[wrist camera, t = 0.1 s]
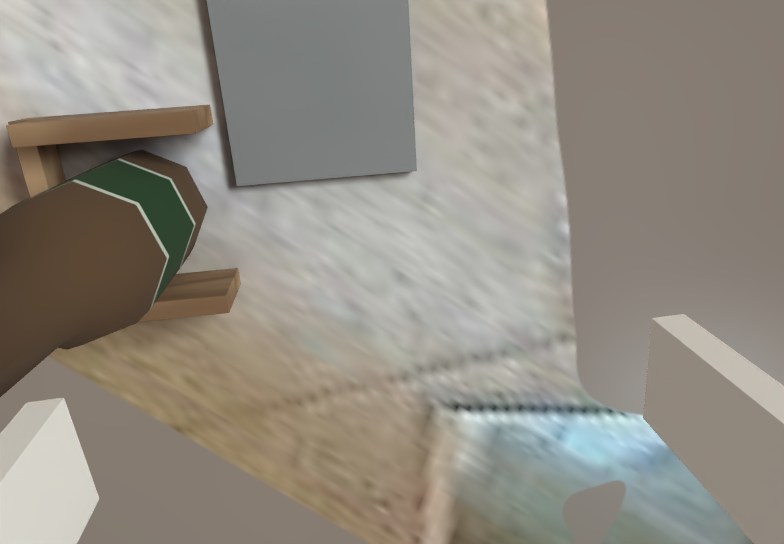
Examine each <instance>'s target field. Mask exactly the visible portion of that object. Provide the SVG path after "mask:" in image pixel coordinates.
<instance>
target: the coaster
mask: <svg viewBox="0 0 784 544" xmlns="http://www.w3.org/2000/svg"><path fill="white" fill-rule="evenodd" d="M207 6H208V12H209V19H210V25H211V31H212V37H213V43H214V49H215V55H216V61H217V68H218V74H219V80H220V86H221V92H222V98H223V104H224V110H225V117H226V123H227V129H228V135H229V141H230V147H231V153H232V159H233V165H234V172H235V178H236V184H237V186H244V185H256V184H268V183H280V182H292V181H304V180H316V179H327V178H339V177H351V176H363V175H375V174H387V173H399V172H411V171H417V168H416V148H415V127H414V107H413V87H412V67H411V47H410V26H409V6H408V0H207Z"/></svg>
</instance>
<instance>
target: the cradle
mask: <svg viewBox="0 0 784 544" xmlns="http://www.w3.org/2000/svg"><path fill="white" fill-rule="evenodd" d="M8 123H9V125H6V127H7V131H8V134H9V137H10V141H11V144H12V147H16V150H17V154H18V157H19V161H20V164H21V167H22V171H23V174H24V178H25V181H26V184H27V188H28V191H29V194H30V198H31V197H33V196H35V195H37V194H39V193H41V192H44V191H46V190H48V189H50V188H52V187H54V186H57V185H59V184H61V183H63V182H65V177H64V174H63V170H62V166H61V162H60V159H59V155H58V151H57V148H56V144H65V143H78V142H91V141H104V140H117V139H130V138H143V137H156V136H169V135H182V134H194V133H198V132H200V131H201V130H203V129H205V128H207V127H209V126H210V125H212V124H213V120H212V114H211V108H210V105H200V106H186V107H173V108H159V109H146V110H132V111H119V112H105V113H91V114H78V115H64V116H51V117H37V118H27V119H21V120H16V121H11V122H8ZM240 284H241V283H240V277H239V272H238V268H236V269H225V270H215V271H204V272H193V273H183V274H175V276H174V277H173V278H172V280H171V281H170V283H169V284H168V285H167V287H166V288H165V289H164V291H163V292H162V294H161V295H160V296H159V298H158V299H157V301H156V302H155V303H154V305H153V306H152V308H151V309H150V310H149V311H148V312H147V313H146V314H145V315H144V316H143V317H142V318H141V319H140V320H139V321H138V322H142V321H152V320H162V319H172V318H182V317H193V316H203V315H213V314H223V313H229V312H230V309H231V307H232V304H233V302H234V299H235V297H236V294H237V292H238V289H239V287H240Z"/></svg>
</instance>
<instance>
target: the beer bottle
mask: <svg viewBox="0 0 784 544" xmlns="http://www.w3.org/2000/svg"><path fill="white" fill-rule="evenodd" d="M206 210H207V205H206V203H205V201H204V200H203V198H202V196H201V194H200V192H199V190H198V188H197V186H196V184H195V182H194V181H193V179H192V177H191V175H190V173H189V171H188V169H187V167H184V166H182V165H179V164H177V163H174V162H172V161H169V160H167V159H164V158H162V157H159V156H156V155H154V154H151V153H149V152H146V151H144V150H139V151H136V152H132V153H130V154H128V155H125V156H123V157H120V158H118V159H116V160H113V161H111V162H108V163H106V164H103V165H101V166H99V167H96V168H94V169H91V170H89V171H87V172H85V173H82V174H80V175H78V176H76V177H74V178H72V179H70V180H67V181H65V182H63V183H61V184H59V185H57V186H54V187H52V188H50V189H48V190H46V191H44V192H41V193H39V194H37V195H35V196H33V197H31V198H28V199H26V200H24V201H22V202H20V203H18V204H16V205H14V206H12V207H11V208H9V209H8V210H6V211H5V212H3V213H2V214H0V397H1V396H2V395H3V394H4V393H6V392H7V391H8V390H9V389H10V388H11V387H12V386H14V385H15V384H16V383H17V382H18V381H19V380H20V379H22V378H23V377H24V376H25V375H26V374H28V373H29V372H30V371H31V370H32V369H33V368H34V367H36V365H38V364H39V363H40V362H41V361H42V360H44V359H45V358H46V357H47V356H48V355H49V354H51V353H52V352H53V351H54V350H55V349H56V348H57V347H58V348H62V349H70V348H74V347H77V346H80V345H83V344H85V343H88V342H90V341H93V340H95V339H98V338H100V337H103V336H105V335H108V334H110V333H113V332H115V331H118V330H120V329H123V328H125V327H128V326H130V325H133V324H135V323H137V322H138V321H139V320H140V319H141V318H142V317H143V316H144V315H145V314H146V313H147V312H148V311H149V310H150V309H151V308H152V306H153V305H154V303H155V302H156V301H157V299H158V298H159V296H160V295H161V294H162V292H163V291H164V289H165V288H166V287H167V285H168V284H169V283H170V281H171V280H172V278H173V277H174V276H175V274H176V273H177V271H178V270H179V269H180V267H181V266H182V264H183V263H184V262H185V260H186V259H187V257H188V256H189V255H190V253H191V251H192V249H193V247H194V245H195V242H196V239H197V236H198V233H199V230H200V228H201V225H202V222H203V219H204V216H205V213H206Z"/></svg>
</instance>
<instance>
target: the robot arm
mask: <svg viewBox="0 0 784 544" xmlns="http://www.w3.org/2000/svg"><path fill="white" fill-rule="evenodd" d="M643 418H644V420H645V421H646V422H647V423H648V424H649V425H650V426H651V427H652V429H653V430H654V431H655V432H656V433H657V434H658V435H659V437H660V438H661V439H662V440H663V441H664V442H665V443H666V444H667V446H668V447H669V448H670V449H671V450H672V451H673V452H674V454H675V455H676V456H677V457H678V458H679V459H680V460H681V461H682V463H683V464H684V465H685V466H686V467H687V468H688V469H689V470H690V472H691V473H692V474H693V475H694V476H695V477H696V478H697V480H698V481H699V482H700V483H701V484H702V485H703V486H704V487H705V489H706V490H707V491H708V492H709V493H710V494H711V495H712V497H713V498H714V499H715V500H716V501H717V502H718V503H719V504H720V506H721V507H722V508H723V509H724V510H725V511H726V512H727V514H728V515H729V516H730V517H731V518H732V519H733V520H734V521H735V523H736V524H737V525H738V526H739V527H740V528H741V529H742V531H743V532H744V533H745V534H746V535H747V536H748V537H749V538H750V540H751V541H752V542H753V543H754V544H784V386H783V385H781V384H780V383H779V382H777V381H776V380H774V379H773V378H772V377H770V376H769V375H768V374H766V373H765V372H763V371H762V370H761V369H759V368H758V367H756V366H755V365H754V364H752V363H751V362H750V361H748V360H747V359H745V358H744V357H743V356H741V355H740V354H738V353H737V352H735V351H734V350H733V349H731V348H730V347H729V346H727V345H726V344H725V343H723V342H722V341H720V340H719V339H718V338H716V337H715V336H713V335H712V334H710V333H709V332H708V331H706V330H705V329H704V328H702V327H701V326H699V325H698V324H697V323H695V322H694V321H693V320H691V319H690V318H688V317H687V316H686V315H684V314H680V315H673V316H665V317H658V318H652V323H651V335H650V346H649V358H648V370H647V382H646V392H645V404H644V415H643ZM98 500H99V497H98V494H97V491H96V488H95V485H94V483H93V479H92V477H91V474H90V471H89V468H88V465H87V462H86V459H85V457H84V454H83V451H82V448H81V445H80V442H79V440H78V437H77V434H76V431H75V428H74V425H73V422H72V420H71V417H70V414H69V411H68V408H67V405H66V403H65V400H64V398H58V399H50V400H43V401H36V402H28V403H26V404H25V405H24V406H23V407H22V409H21V410H20V411H19V412H18V413H17V415H16V416H15V417H14V418H13V419H12V421H11V422H10V423H9V424H8V425H7V426H6V428H5V429H4V430H3V431H2V432H1V434H0V544H77V542H78V540H79V538H80V536H81V534H82V532H83V530H84V528H85V526H86V524H87V522H88V520H89V518H90V516H91V514H92V512H93V510H94V508H95V506H96V504H97V502H98Z"/></svg>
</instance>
